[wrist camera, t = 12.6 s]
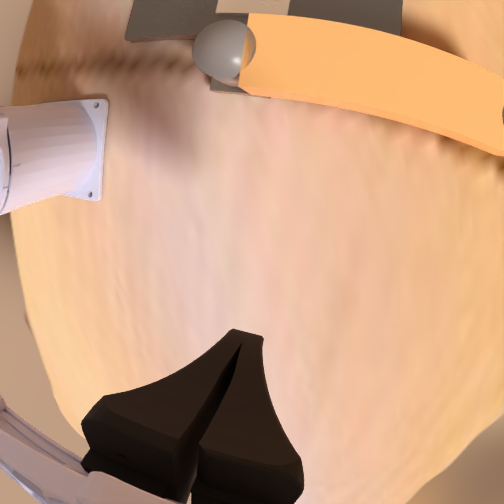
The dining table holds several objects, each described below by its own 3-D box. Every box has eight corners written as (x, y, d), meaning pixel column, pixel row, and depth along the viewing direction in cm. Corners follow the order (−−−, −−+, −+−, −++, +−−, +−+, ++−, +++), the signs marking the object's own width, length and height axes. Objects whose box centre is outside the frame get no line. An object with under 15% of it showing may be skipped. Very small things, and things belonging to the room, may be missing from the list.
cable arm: (207, 91, 16) (186, 84, 13) (216, 31, 15) (198, 14, 12) (502, 158, 13) (528, 163, 11) (508, 98, 12) (534, 95, 9)
